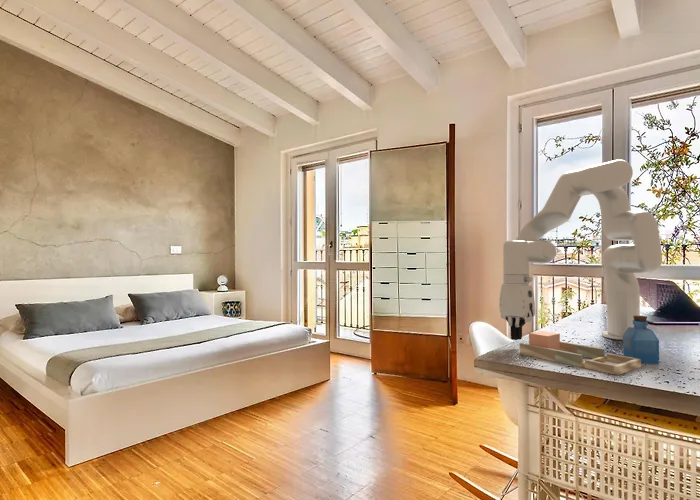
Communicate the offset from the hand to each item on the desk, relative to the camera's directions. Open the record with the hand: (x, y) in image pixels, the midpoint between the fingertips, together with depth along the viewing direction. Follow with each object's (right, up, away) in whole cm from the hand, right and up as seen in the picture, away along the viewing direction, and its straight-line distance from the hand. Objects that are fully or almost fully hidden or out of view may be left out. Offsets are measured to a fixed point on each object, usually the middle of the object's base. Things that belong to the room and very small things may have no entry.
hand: (516, 339), depth 134 cm
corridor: (+11, -3, -15) cm, 19 cm away
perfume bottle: (+27, -3, -17) cm, 32 cm away
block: (+5, -3, -7) cm, 10 cm away
